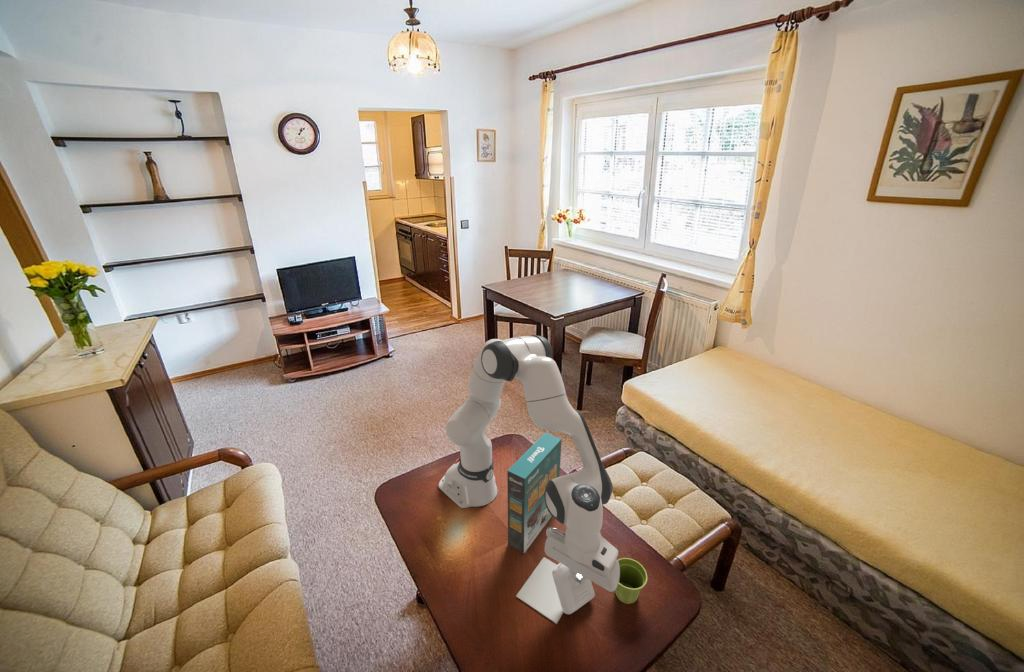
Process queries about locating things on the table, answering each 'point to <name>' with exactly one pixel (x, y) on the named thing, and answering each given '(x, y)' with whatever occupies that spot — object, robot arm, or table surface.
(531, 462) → the cake mix box
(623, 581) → the plant pot
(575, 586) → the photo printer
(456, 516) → the table surface
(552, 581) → the mat
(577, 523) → the robot arm
